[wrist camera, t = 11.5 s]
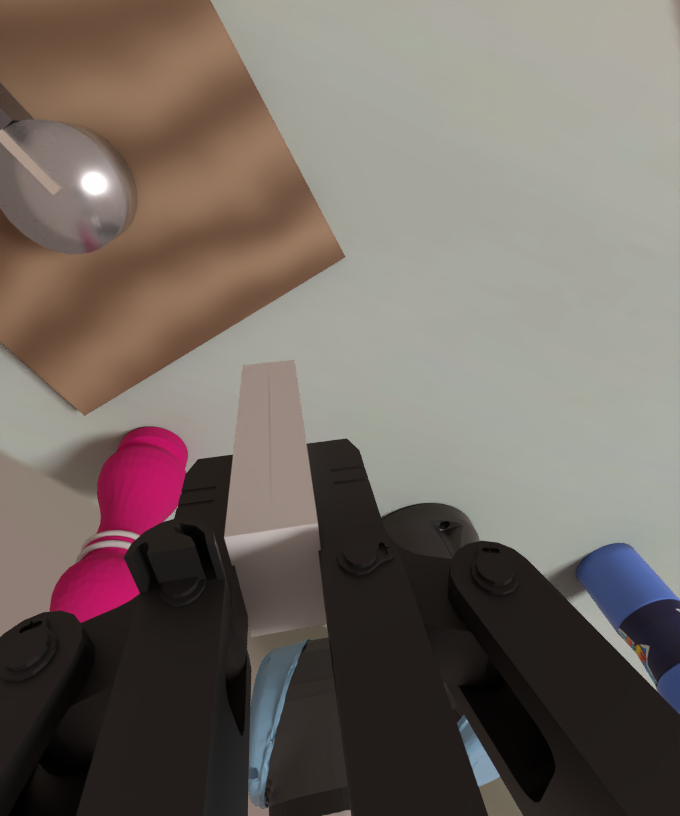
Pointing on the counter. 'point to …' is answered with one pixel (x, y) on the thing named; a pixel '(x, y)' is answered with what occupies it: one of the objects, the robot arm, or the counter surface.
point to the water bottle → (638, 611)
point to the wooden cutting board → (151, 193)
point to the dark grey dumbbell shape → (62, 182)
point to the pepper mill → (123, 520)
